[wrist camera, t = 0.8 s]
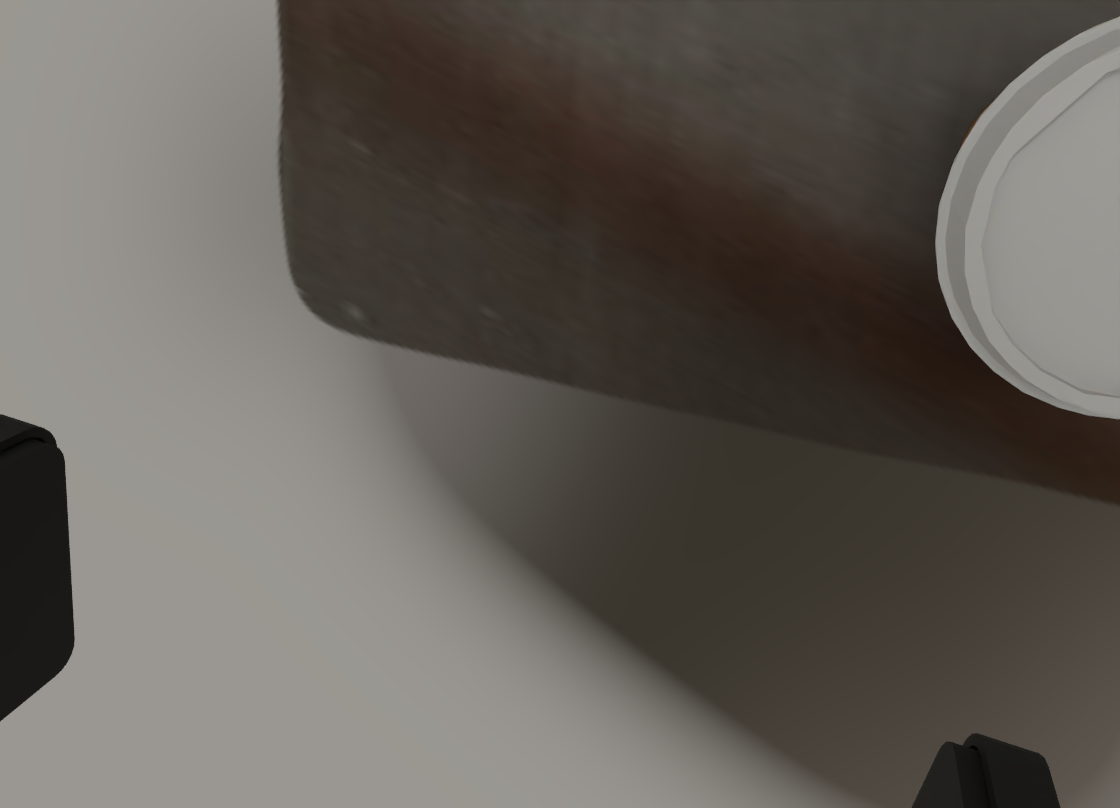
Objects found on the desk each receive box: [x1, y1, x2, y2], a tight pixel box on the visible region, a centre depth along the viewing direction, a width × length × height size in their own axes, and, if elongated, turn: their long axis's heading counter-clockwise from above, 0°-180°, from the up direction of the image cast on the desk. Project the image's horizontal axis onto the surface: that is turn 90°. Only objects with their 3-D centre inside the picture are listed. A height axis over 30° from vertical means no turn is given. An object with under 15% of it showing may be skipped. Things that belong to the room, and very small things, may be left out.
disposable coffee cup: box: [935, 17, 1120, 419], centre depth 25 cm, size 10×10×12 cm
